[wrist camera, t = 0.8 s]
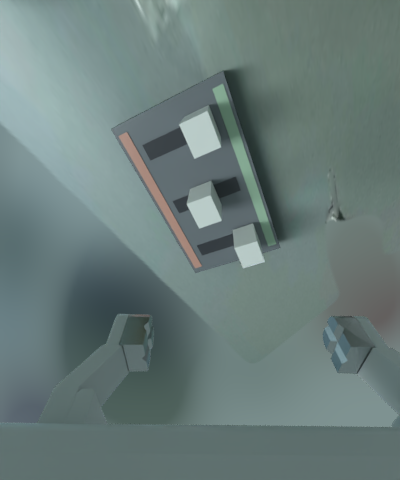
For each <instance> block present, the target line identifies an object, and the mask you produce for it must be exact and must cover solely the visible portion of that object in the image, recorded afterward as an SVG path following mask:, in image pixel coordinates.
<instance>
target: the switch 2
mask: <svg viewBox="0 0 400 480" xmlns="http://www.w3.org/2000/svg"><path fill="white" fill-rule="evenodd" d="M233 240H234V249H235V251H236V253H237V255H238V258H239V260H240V262H241V264H242V267H243V268H246V267H249V266H253V265H256V264H260V263H263V262H265V260H264V256H263V252H262V248H261V244H260V241H259V238H258V235H257V233H256V230H255V227H254V225H253V223H252V224H249V225H246V226H243V227H240V228H237V229H234V230H233Z"/></svg>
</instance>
